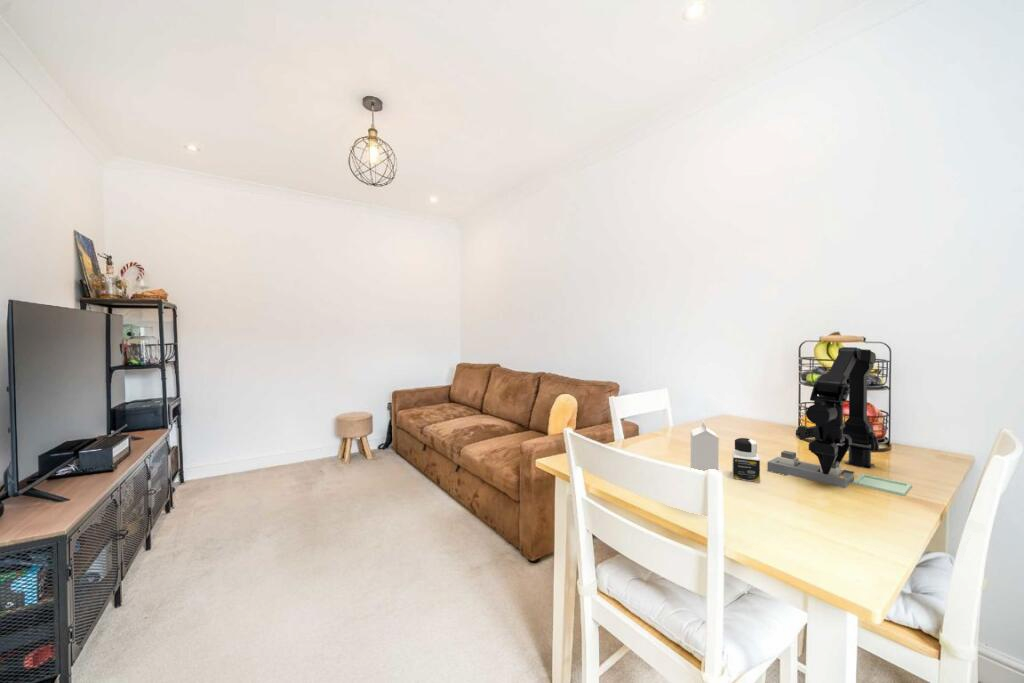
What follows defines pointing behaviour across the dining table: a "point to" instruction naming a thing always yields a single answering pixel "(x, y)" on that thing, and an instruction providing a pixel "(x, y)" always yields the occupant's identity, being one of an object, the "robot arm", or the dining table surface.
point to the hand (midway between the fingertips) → (830, 470)
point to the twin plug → (788, 458)
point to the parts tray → (882, 484)
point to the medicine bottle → (746, 460)
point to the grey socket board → (811, 473)
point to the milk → (704, 448)
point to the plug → (834, 469)
